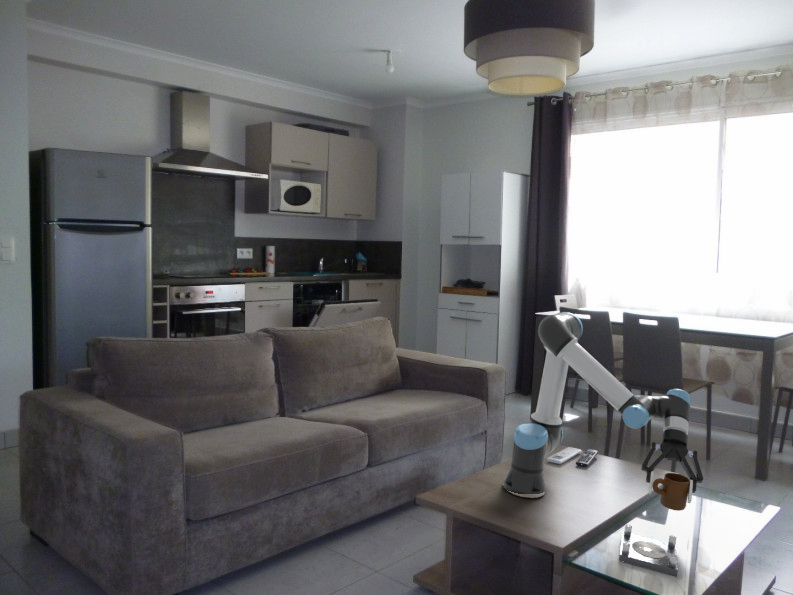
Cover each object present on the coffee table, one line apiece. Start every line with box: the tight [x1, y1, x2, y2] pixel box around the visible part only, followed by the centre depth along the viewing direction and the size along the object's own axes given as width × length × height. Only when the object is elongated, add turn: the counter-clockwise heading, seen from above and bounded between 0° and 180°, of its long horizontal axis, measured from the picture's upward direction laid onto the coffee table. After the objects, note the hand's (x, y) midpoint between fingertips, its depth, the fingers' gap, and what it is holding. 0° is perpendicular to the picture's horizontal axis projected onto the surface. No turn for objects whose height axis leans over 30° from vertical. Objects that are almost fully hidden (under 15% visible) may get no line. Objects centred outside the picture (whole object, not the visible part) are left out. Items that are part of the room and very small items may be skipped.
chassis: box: [618, 523, 679, 577], centre depth 199 cm, size 16×16×5 cm
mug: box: [652, 472, 690, 512], centre depth 206 cm, size 12×8×9 cm, turn 103°
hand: (669, 496), depth 203 cm, fingers closed on mug, 11 cm apart
